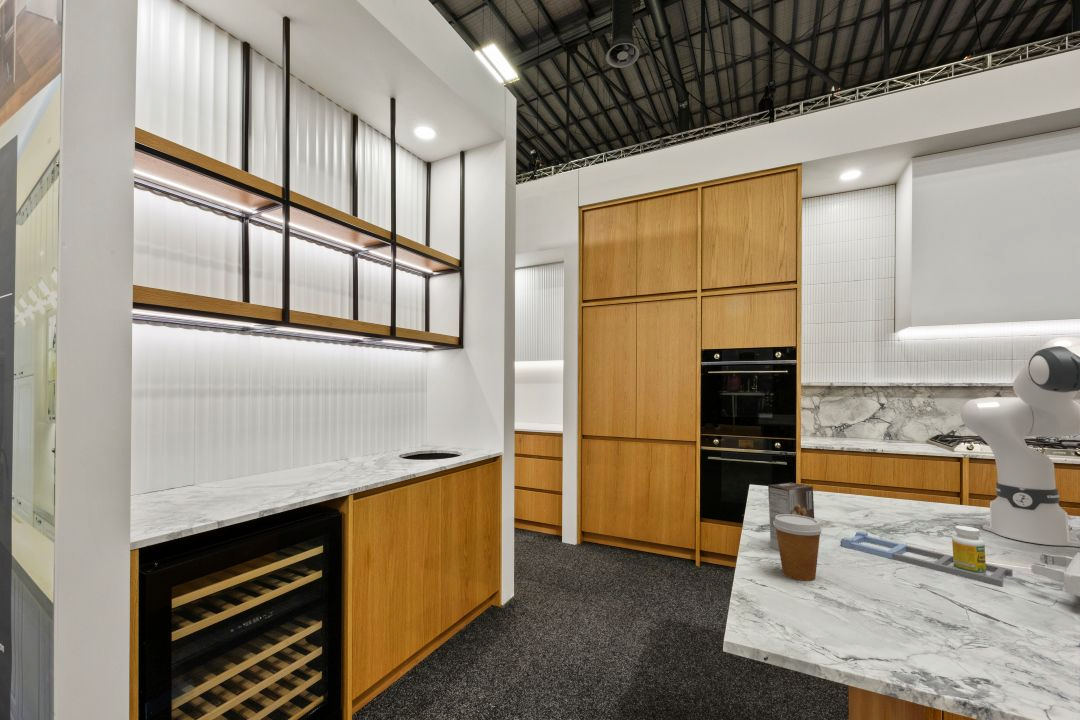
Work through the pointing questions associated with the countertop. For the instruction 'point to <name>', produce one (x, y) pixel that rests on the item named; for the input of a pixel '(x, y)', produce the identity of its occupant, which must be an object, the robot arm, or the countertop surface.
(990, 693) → the countertop surface
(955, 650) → the countertop surface
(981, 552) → the supplement bottle
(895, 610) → the countertop surface
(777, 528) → the disposable coffee cup
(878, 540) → the blue ladder rack
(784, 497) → the coffee box
